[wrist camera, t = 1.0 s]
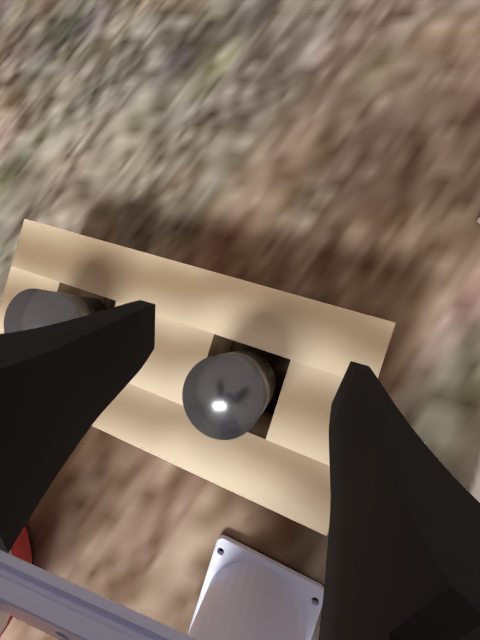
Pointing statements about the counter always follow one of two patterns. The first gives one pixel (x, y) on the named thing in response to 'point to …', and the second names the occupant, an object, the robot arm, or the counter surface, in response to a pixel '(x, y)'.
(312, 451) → the maple peg block
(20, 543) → the citrus juicer
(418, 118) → the counter surface
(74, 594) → the robot arm
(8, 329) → the steel peg
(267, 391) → the steel peg
